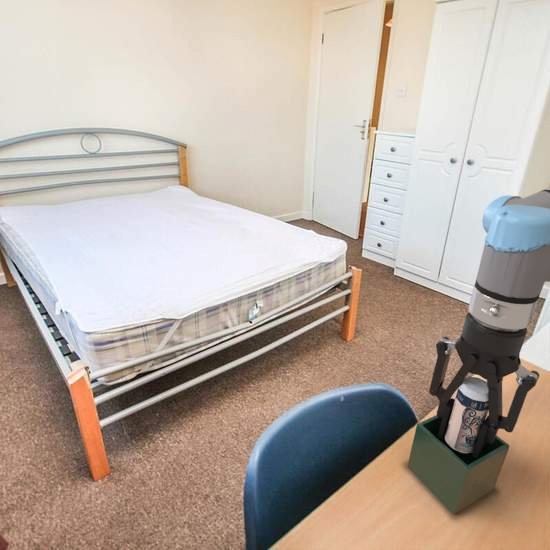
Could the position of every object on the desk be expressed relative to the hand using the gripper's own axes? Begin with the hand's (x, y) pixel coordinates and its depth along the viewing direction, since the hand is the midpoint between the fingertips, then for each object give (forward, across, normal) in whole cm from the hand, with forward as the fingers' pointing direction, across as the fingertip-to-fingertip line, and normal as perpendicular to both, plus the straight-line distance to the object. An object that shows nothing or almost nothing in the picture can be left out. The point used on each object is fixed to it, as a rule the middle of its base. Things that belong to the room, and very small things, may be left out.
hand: (459, 442), depth 62 cm
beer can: (0, 0, 0) cm, 0 cm away
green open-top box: (+9, 0, 0) cm, 9 cm away
